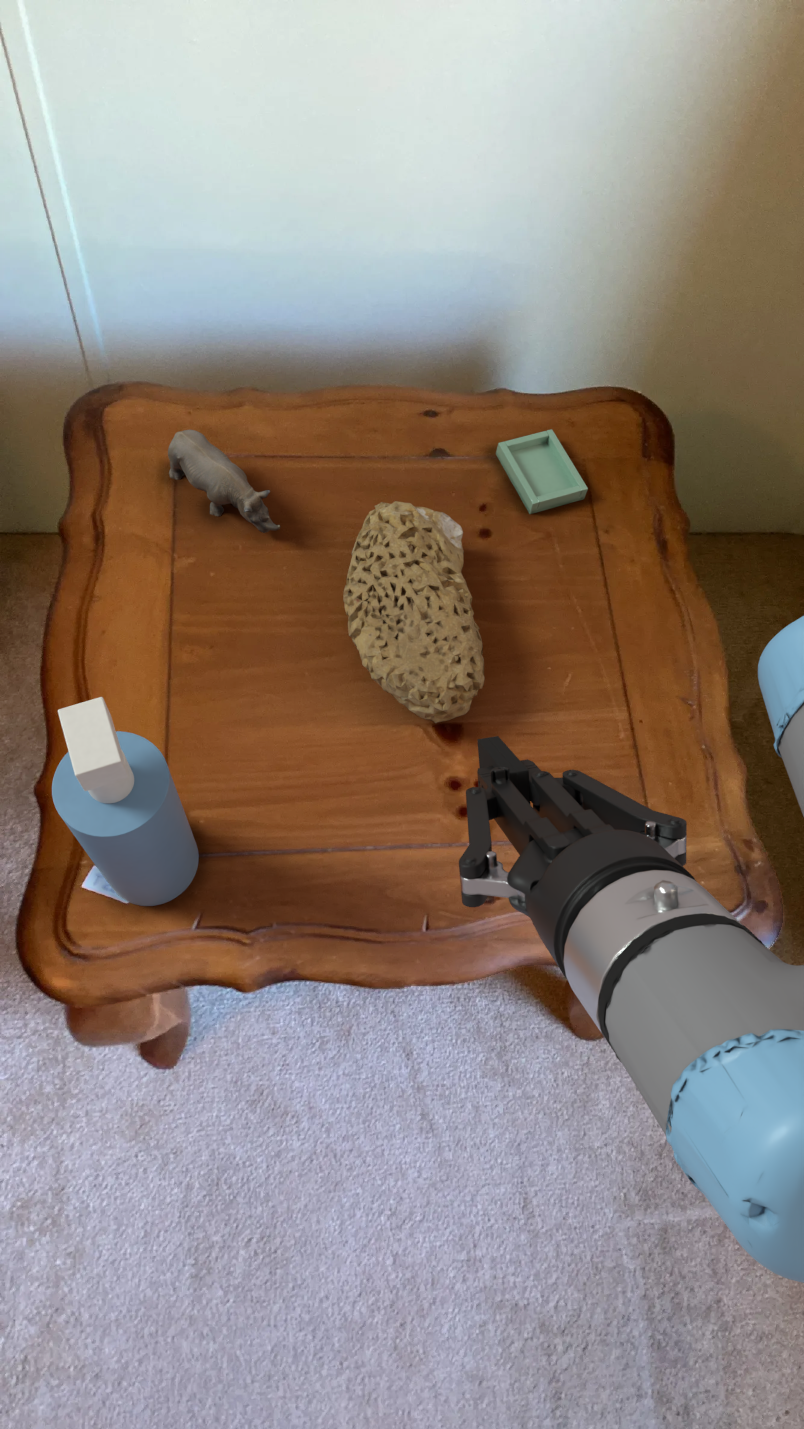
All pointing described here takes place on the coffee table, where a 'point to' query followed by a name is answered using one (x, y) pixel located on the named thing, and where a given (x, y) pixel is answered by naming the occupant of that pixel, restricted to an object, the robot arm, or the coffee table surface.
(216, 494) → the rhino figurine
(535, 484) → the soap dish
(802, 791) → the robot arm
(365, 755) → the coffee table surface
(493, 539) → the coffee table surface
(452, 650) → the sponge
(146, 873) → the spray bottle
